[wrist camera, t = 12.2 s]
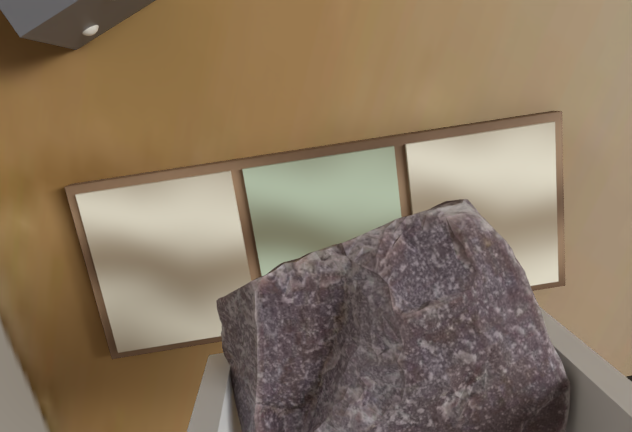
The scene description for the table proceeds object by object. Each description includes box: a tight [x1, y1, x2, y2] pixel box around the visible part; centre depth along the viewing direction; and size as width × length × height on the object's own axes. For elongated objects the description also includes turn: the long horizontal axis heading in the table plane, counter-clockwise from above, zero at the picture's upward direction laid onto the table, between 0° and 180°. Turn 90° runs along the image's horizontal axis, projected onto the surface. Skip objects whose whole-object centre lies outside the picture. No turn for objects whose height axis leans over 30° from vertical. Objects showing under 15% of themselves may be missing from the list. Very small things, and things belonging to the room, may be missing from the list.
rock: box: [216, 199, 570, 432], centre depth 14 cm, size 8×11×5 cm
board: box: [65, 111, 565, 359], centre depth 30 cm, size 11×29×1 cm, turn 98°
